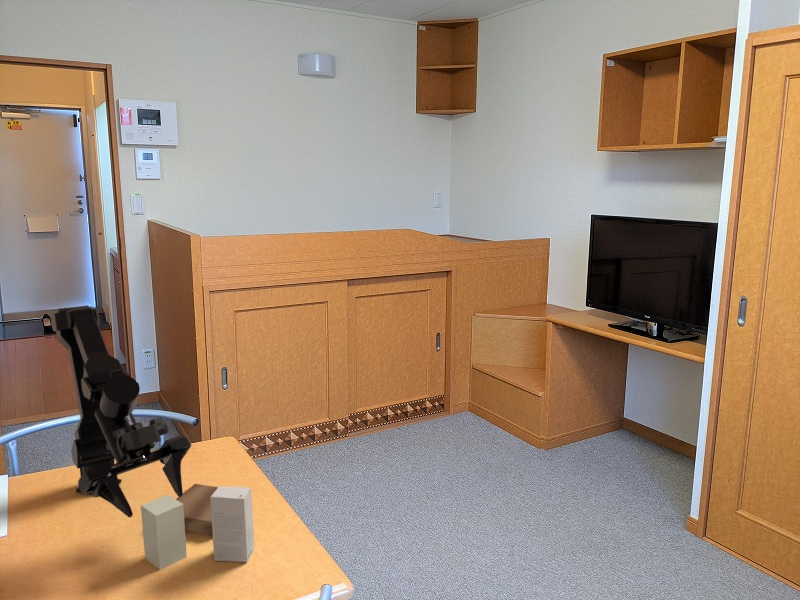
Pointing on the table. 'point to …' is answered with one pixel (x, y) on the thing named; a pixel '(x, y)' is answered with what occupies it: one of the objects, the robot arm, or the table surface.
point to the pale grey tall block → (163, 531)
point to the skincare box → (232, 524)
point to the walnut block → (198, 509)
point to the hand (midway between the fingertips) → (156, 505)
